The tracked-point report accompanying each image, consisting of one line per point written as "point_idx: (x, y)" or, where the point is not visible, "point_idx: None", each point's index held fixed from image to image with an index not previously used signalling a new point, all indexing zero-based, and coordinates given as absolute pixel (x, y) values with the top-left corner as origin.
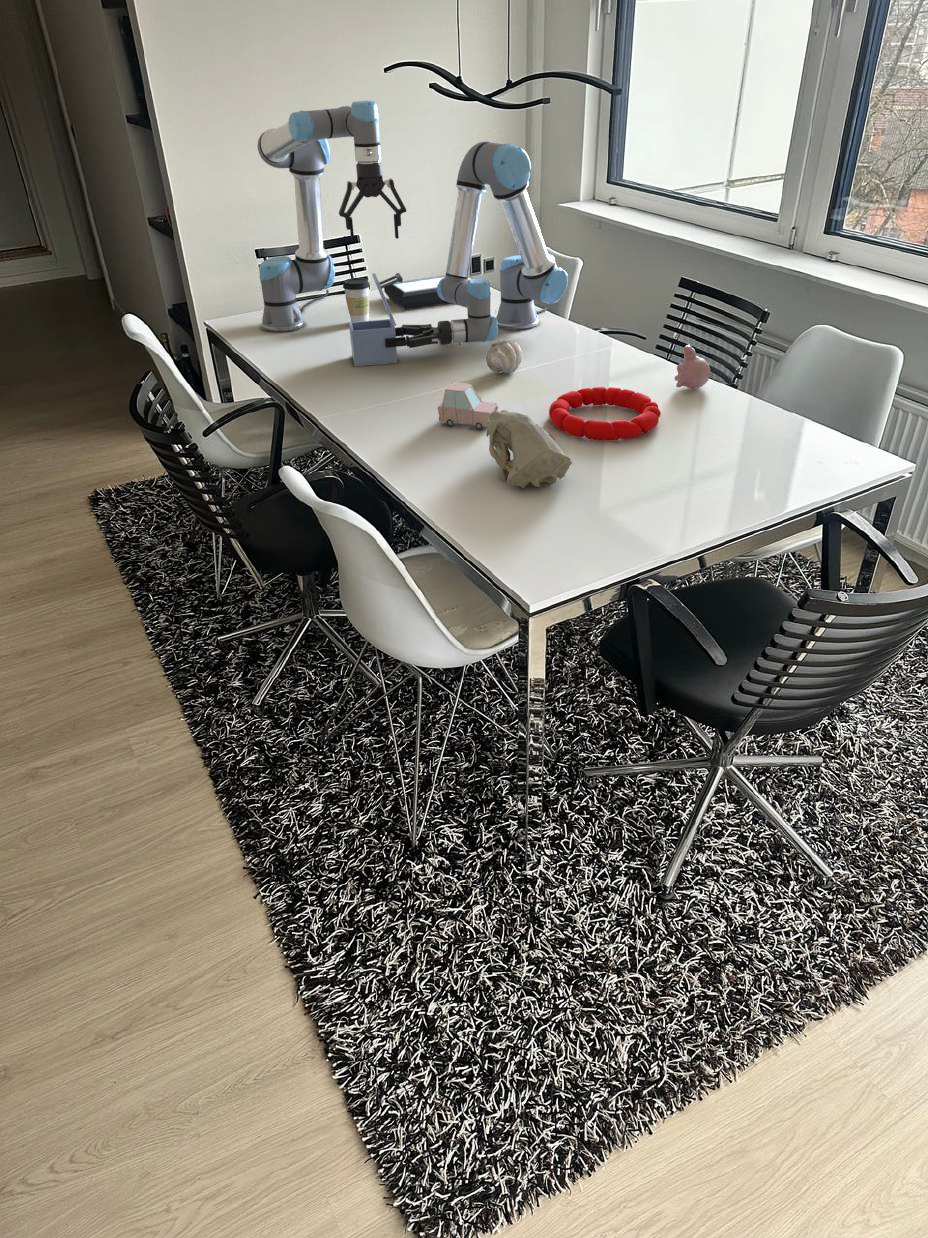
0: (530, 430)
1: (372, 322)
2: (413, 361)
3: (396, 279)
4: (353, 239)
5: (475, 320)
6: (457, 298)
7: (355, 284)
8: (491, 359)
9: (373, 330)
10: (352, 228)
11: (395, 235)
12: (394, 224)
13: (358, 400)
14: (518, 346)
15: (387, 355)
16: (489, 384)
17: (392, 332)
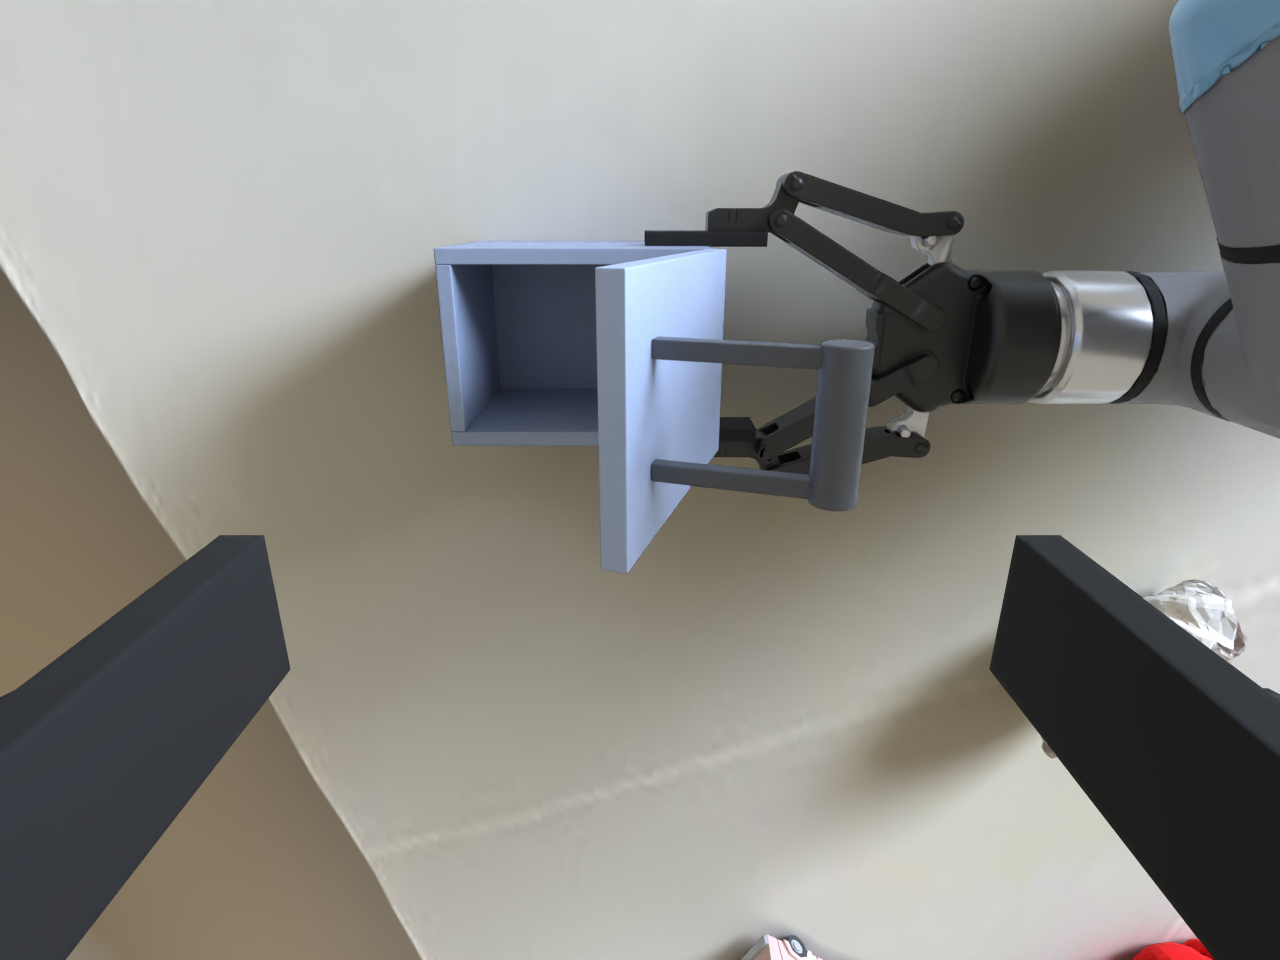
0: None
1: (588, 264)
2: (769, 400)
3: (800, 490)
4: (263, 689)
5: (1202, 410)
6: (1238, 283)
7: None
8: (1050, 756)
9: (580, 444)
10: (150, 834)
11: (1019, 618)
12: (1148, 700)
13: (497, 754)
14: (1234, 658)
15: None
16: (983, 727)
17: None
